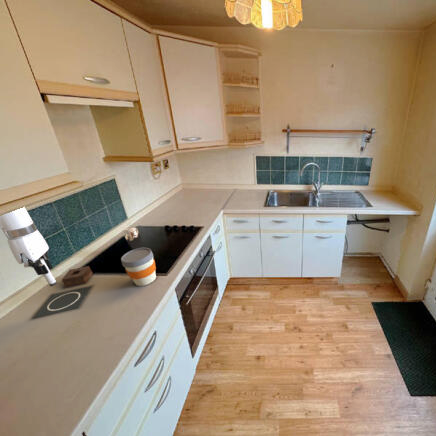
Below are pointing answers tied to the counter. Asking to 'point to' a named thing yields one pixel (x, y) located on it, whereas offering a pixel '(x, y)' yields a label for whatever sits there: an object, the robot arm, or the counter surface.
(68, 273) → the holder
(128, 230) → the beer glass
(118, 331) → the counter surface
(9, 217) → the robot arm
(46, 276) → the marker
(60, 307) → the slate board
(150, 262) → the reusable coffee cup
